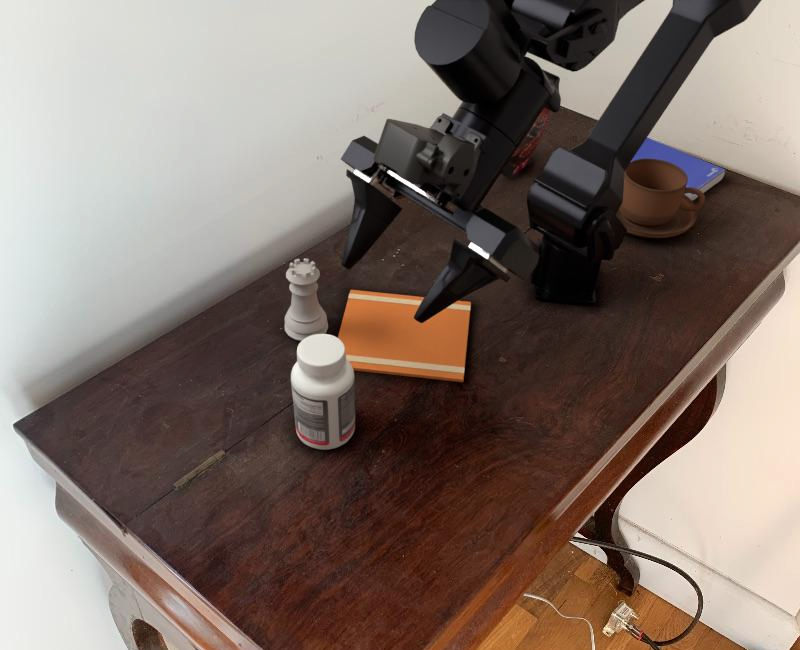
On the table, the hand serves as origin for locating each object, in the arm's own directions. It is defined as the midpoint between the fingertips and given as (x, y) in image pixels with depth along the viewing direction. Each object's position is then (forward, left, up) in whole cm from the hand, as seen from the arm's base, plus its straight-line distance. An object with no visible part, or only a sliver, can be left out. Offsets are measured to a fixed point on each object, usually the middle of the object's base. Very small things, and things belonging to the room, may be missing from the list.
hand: (380, 293), depth 67 cm
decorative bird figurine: (-12, -43, -13) cm, 46 cm away
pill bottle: (+4, +5, -13) cm, 14 cm away
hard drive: (-32, -47, -13) cm, 58 cm away
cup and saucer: (-28, -35, -13) cm, 47 cm away
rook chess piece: (+9, -8, -13) cm, 18 cm away
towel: (-1, -9, -12) cm, 16 cm away
